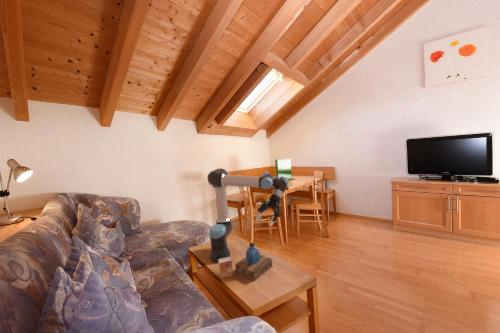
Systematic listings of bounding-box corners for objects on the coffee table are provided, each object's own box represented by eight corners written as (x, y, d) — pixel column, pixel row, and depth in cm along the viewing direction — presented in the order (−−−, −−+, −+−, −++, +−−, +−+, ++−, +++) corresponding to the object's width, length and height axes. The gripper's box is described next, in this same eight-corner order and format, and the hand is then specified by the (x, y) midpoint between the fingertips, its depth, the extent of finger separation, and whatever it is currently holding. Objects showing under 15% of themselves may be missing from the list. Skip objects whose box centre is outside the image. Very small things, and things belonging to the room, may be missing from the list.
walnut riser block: (236, 272, 144) (235, 264, 143) (254, 260, 157) (253, 252, 156) (254, 281, 133) (253, 272, 132) (272, 267, 146) (271, 258, 145)
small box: (220, 279, 138) (218, 263, 137) (219, 274, 143) (217, 258, 142) (233, 275, 140) (231, 260, 139) (231, 271, 145) (229, 256, 144)
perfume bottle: (252, 264, 140) (250, 247, 139) (246, 261, 145) (245, 243, 144) (259, 261, 144) (258, 243, 142) (254, 257, 149) (252, 240, 147)
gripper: (292, 201, 150) (279, 230, 142) (266, 197, 169) (254, 221, 161) (287, 195, 146) (273, 224, 138) (261, 191, 165) (247, 217, 157)
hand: (263, 223), depth 149 cm, fingers open, 13 cm apart
